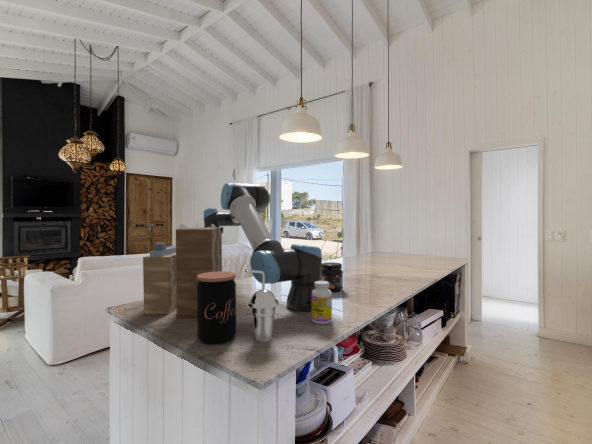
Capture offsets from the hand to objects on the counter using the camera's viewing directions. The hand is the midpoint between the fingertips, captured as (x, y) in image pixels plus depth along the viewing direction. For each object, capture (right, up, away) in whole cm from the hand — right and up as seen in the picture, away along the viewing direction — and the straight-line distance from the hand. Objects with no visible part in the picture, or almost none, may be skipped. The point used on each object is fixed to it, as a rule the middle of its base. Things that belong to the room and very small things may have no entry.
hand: (196, 227), depth 142 cm
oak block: (-5, -30, -22) cm, 37 cm away
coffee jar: (+21, -31, -51) cm, 63 cm away
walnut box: (+10, -30, -26) cm, 41 cm away
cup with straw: (+35, -31, -51) cm, 69 cm away
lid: (-5, -10, -19) cm, 22 cm away
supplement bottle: (+52, -30, -37) cm, 71 cm away
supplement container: (+60, -29, +6) cm, 67 cm away
